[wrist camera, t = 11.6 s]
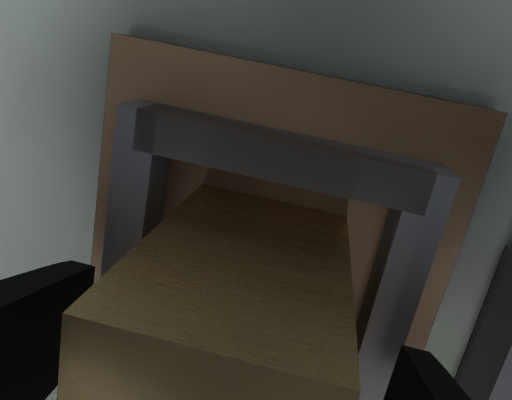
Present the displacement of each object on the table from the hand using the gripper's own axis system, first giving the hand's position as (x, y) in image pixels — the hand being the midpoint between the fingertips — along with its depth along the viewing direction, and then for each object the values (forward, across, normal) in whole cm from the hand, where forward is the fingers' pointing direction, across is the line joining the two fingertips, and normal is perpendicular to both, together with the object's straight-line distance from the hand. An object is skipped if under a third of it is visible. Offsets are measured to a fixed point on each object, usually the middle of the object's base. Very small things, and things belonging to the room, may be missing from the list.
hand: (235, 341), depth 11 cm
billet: (+3, 0, 0) cm, 3 cm away
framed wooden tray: (+4, 0, 0) cm, 4 cm away
